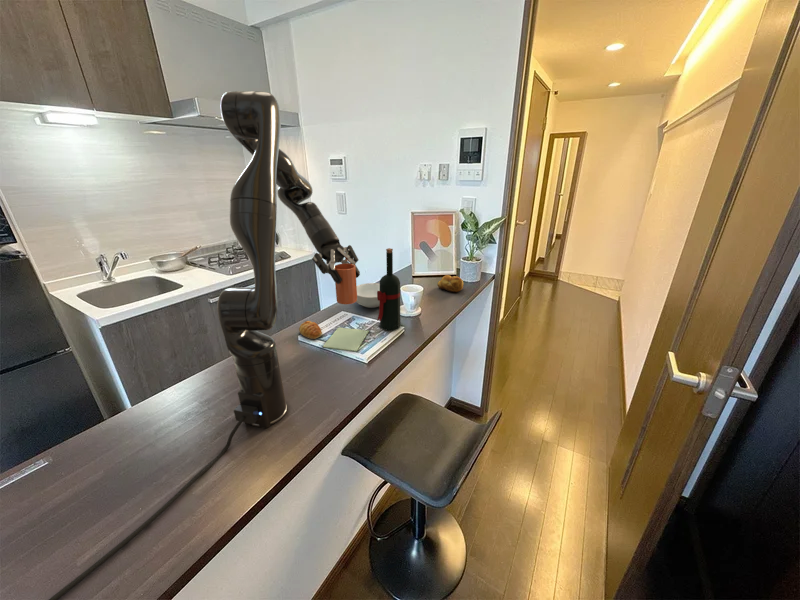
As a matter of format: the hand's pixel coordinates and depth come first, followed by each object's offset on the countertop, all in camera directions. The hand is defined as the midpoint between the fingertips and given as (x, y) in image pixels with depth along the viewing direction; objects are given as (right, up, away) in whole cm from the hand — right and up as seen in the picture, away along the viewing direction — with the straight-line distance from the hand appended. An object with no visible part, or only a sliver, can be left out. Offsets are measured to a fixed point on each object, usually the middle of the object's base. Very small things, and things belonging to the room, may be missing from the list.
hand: (349, 279), depth 97 cm
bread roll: (+40, -1, +63) cm, 74 cm away
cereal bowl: (+3, -8, +46) cm, 46 cm away
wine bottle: (+11, -17, +26) cm, 33 cm away
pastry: (-17, -19, +21) cm, 33 cm away
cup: (-1, -6, +4) cm, 8 cm away
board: (-4, -20, +18) cm, 27 cm away
